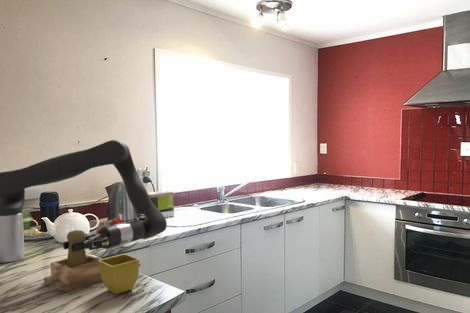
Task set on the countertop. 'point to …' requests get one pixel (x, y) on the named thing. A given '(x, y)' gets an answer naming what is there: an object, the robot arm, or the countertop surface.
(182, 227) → the countertop surface
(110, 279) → the flower pot
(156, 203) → the tea box
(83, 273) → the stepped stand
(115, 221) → the toy fire truck
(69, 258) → the cork
